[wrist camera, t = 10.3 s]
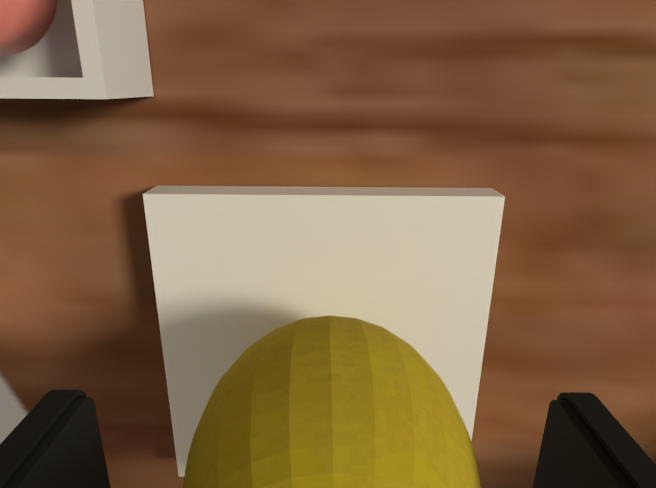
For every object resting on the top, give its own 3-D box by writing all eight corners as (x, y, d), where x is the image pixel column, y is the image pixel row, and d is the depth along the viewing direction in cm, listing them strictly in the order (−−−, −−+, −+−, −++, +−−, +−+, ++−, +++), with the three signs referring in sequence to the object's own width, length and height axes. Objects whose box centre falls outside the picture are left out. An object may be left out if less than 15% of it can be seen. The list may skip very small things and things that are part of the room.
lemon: (302, 221, 11) (265, 508, 4) (468, 332, 13) (681, 714, 5) (192, 373, 13) (16, 784, 6) (348, 459, 14) (379, 891, 7)
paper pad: (491, 187, 12) (504, 196, 11) (457, 453, 15) (466, 478, 14) (156, 185, 12) (142, 194, 11) (187, 452, 15) (178, 476, 14)
